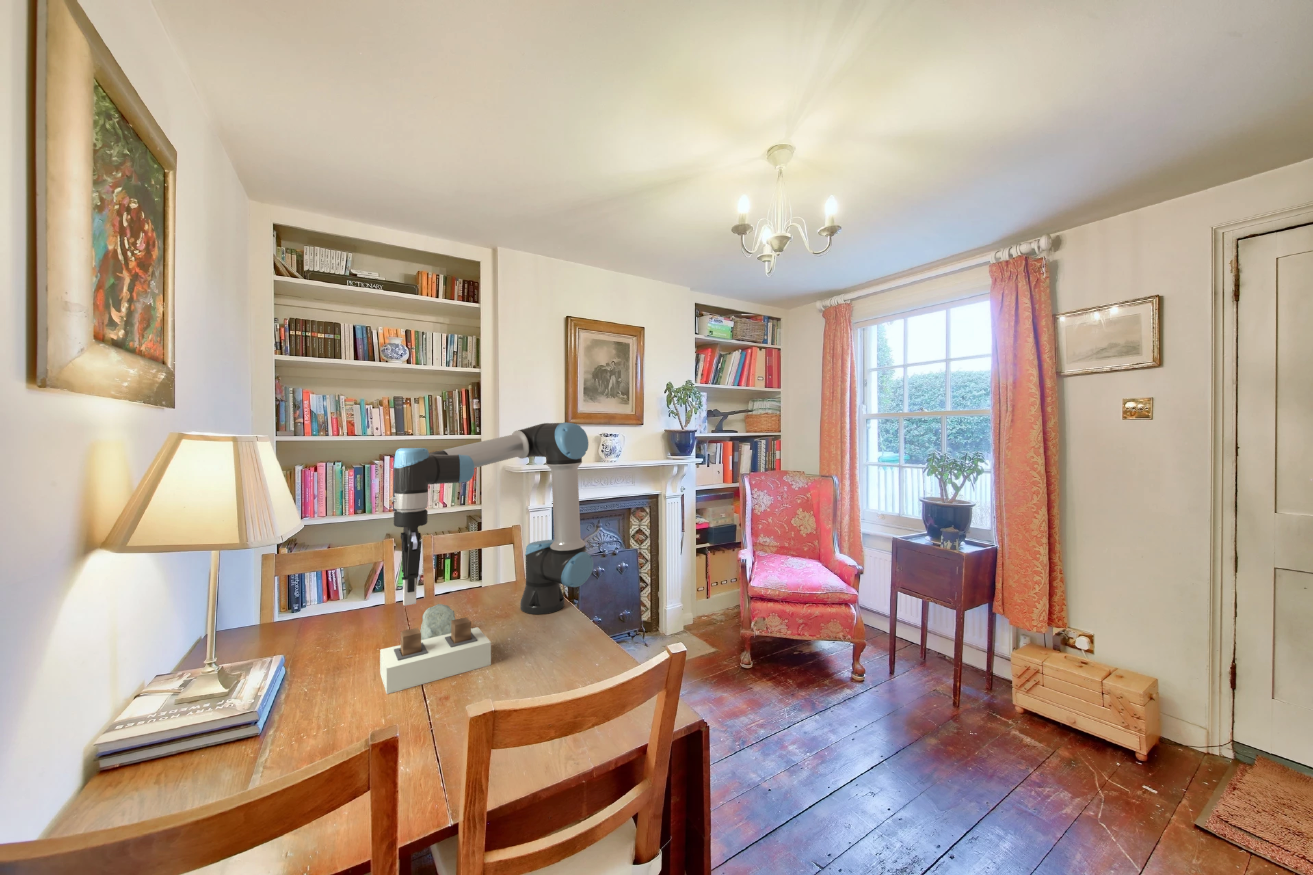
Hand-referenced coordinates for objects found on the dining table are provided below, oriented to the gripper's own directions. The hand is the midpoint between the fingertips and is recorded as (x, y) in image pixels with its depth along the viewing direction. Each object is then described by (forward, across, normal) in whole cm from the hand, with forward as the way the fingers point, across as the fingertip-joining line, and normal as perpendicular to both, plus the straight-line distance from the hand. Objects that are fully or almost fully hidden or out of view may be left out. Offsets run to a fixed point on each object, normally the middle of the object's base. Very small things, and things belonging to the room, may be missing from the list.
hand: (409, 603), depth 118 cm
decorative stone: (+18, -18, +10) cm, 28 cm away
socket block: (+18, 0, +6) cm, 19 cm away
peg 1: (+13, 0, 0) cm, 13 cm away
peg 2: (+13, 0, +12) cm, 18 cm away
